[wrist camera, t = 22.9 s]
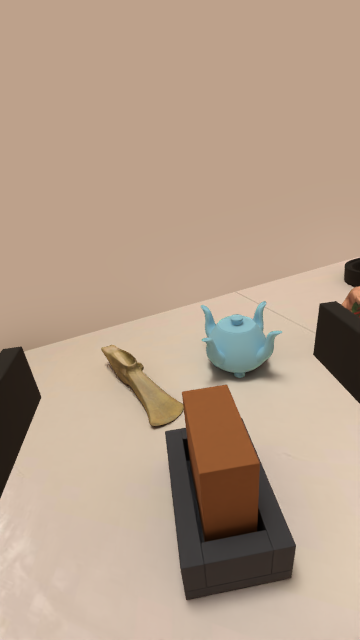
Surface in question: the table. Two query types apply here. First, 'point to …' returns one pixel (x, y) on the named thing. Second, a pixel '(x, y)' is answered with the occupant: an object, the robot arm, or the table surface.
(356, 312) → the pig shaped mug
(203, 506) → the brown rectangular block
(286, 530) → the dark grey rectangular box
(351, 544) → the table surface
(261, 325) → the teapot
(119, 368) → the tool
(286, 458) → the table surface
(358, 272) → the headphones
